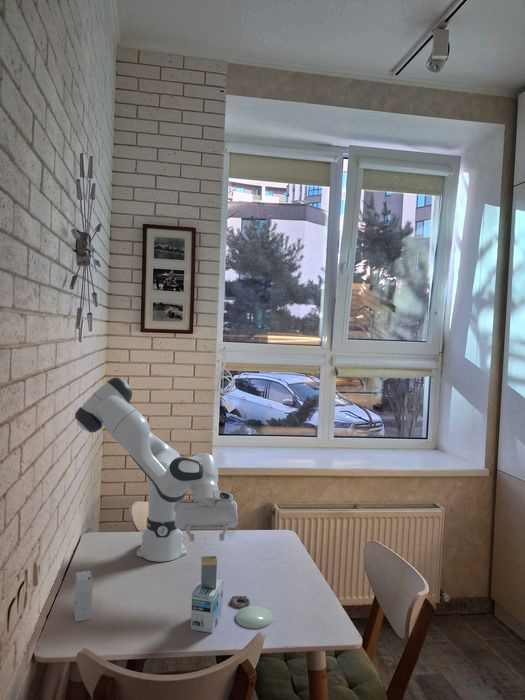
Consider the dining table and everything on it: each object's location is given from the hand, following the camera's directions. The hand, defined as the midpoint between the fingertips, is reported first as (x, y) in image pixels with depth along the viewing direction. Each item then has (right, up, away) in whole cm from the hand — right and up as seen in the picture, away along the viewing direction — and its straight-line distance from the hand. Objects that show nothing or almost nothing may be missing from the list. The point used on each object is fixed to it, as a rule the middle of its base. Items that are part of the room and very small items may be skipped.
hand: (206, 540), depth 166 cm
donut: (+10, -21, +1) cm, 23 cm away
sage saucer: (+15, -21, -8) cm, 27 cm away
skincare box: (-35, -19, -10) cm, 41 cm away
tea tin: (+2, -9, -11) cm, 15 cm away
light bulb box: (+1, -20, -11) cm, 23 cm away
